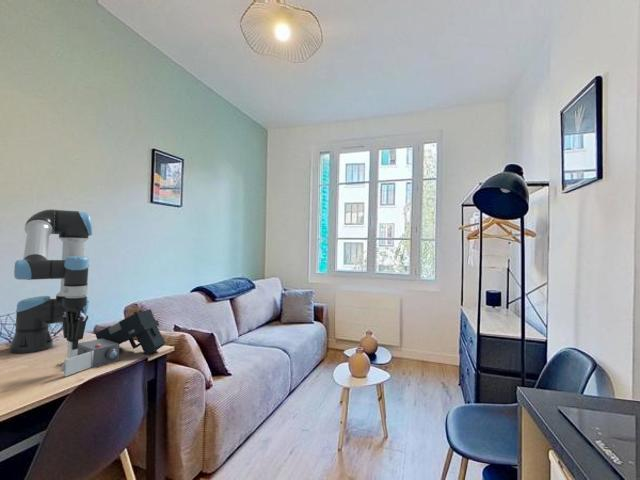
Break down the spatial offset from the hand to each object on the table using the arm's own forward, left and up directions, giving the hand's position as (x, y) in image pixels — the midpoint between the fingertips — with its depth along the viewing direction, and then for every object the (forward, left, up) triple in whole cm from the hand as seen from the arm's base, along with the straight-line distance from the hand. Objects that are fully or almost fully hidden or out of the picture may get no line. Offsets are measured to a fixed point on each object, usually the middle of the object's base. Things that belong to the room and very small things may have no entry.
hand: (72, 357), depth 128 cm
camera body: (-3, +11, -5) cm, 13 cm away
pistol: (-7, +26, -6) cm, 28 cm away
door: (+3, +1, -5) cm, 6 cm away
